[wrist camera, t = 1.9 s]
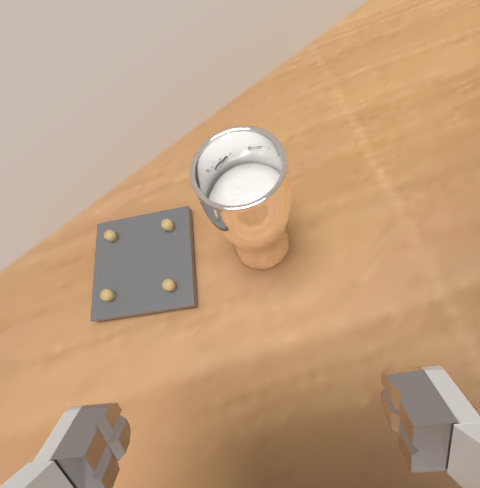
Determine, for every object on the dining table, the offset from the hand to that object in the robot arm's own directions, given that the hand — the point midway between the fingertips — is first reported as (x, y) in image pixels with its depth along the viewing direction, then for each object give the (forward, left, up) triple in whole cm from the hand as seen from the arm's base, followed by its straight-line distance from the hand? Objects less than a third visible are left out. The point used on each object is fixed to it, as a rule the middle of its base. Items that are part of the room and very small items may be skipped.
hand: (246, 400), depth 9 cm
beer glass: (0, -13, -21) cm, 25 cm away
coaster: (+14, -13, -21) cm, 28 cm away
